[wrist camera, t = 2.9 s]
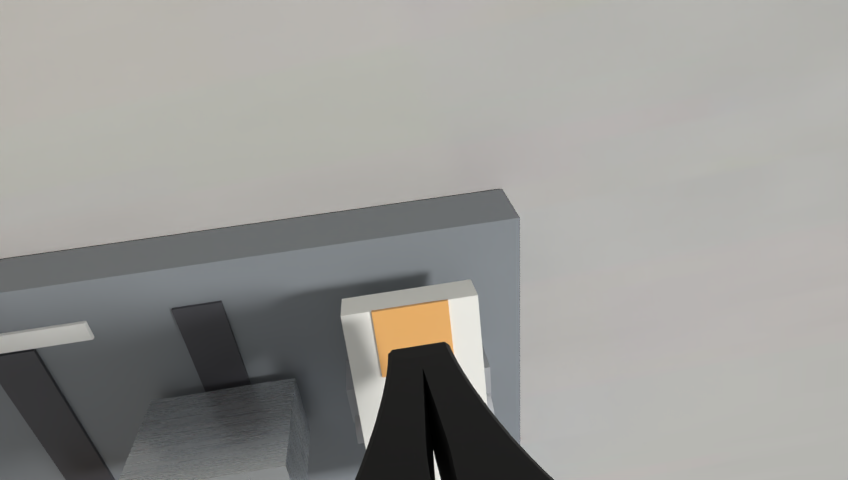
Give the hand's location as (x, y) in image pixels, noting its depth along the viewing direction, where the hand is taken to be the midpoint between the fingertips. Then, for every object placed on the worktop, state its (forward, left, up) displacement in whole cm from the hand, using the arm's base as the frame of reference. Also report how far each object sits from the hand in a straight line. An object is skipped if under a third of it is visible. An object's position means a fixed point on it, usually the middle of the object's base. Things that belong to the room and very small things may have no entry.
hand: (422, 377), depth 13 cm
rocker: (-3, 0, -2) cm, 4 cm away
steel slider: (-4, +6, -4) cm, 8 cm away
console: (-5, +6, -6) cm, 10 cm away
